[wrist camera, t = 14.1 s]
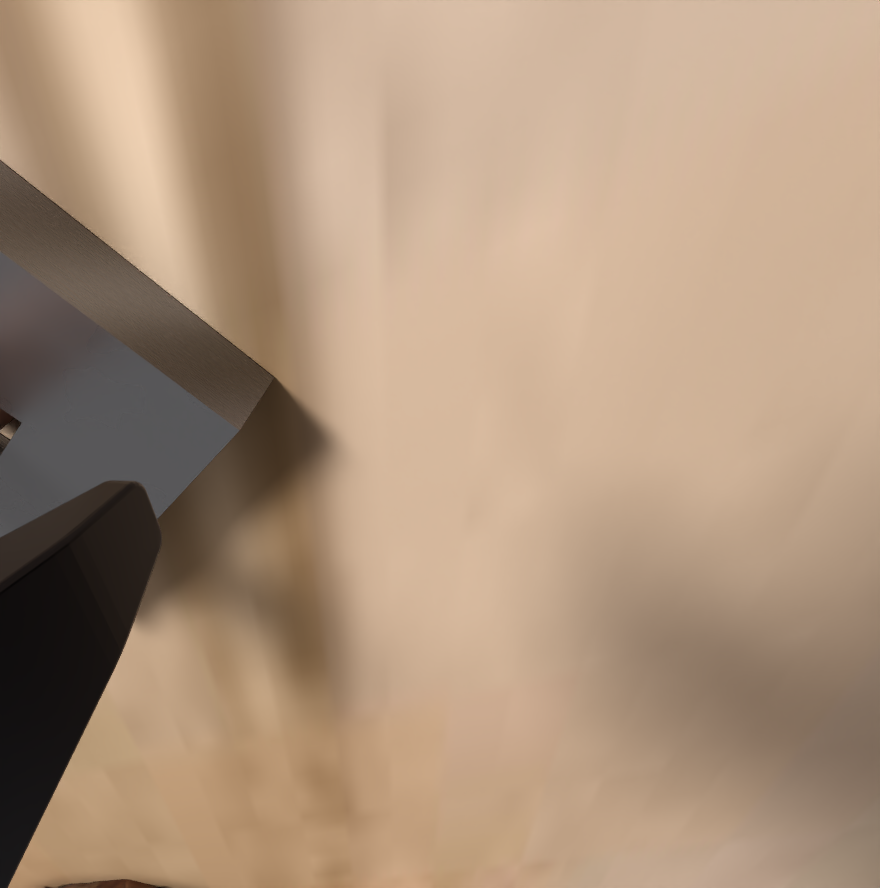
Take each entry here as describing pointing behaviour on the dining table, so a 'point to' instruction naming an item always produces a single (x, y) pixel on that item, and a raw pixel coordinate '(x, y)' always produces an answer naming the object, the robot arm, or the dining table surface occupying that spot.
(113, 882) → the chocolate cake
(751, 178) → the dining table surface
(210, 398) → the dark grey square base
